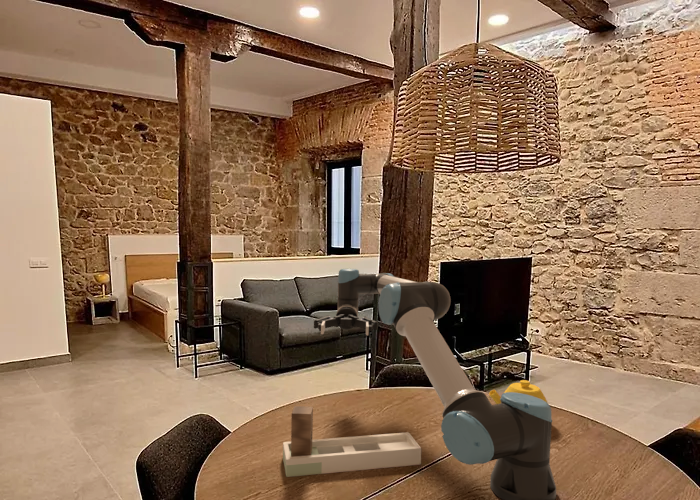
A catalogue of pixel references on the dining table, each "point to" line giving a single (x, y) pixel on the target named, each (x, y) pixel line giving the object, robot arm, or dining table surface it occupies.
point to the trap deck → (353, 454)
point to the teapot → (520, 391)
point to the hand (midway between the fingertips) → (344, 330)
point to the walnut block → (301, 431)
